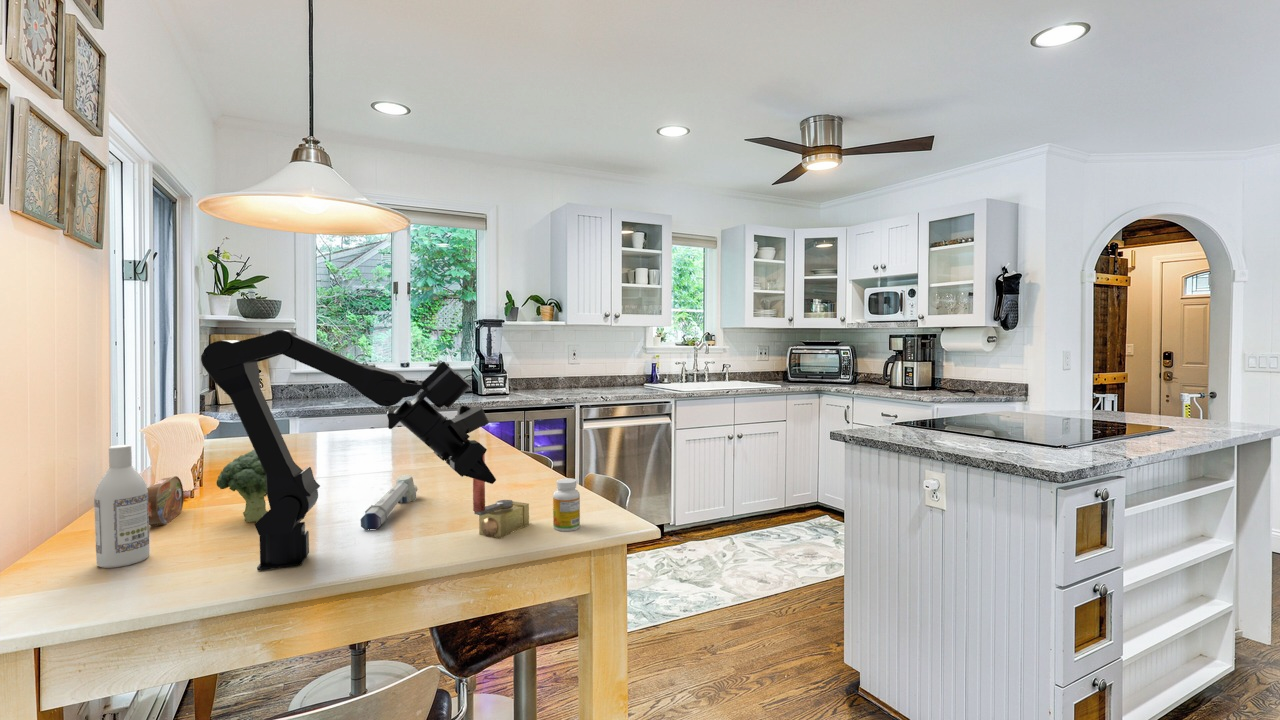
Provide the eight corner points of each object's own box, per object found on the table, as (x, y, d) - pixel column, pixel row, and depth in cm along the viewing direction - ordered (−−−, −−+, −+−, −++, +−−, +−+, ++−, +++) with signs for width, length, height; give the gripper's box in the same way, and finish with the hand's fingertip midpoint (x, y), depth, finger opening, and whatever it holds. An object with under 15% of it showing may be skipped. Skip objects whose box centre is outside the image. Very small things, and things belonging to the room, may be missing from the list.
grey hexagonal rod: (355, 512, 118) (397, 468, 143) (358, 543, 119) (398, 494, 144) (383, 512, 119) (419, 468, 143) (384, 543, 120) (420, 494, 144)
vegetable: (286, 524, 123) (284, 452, 122) (211, 533, 117) (209, 457, 116) (292, 509, 134) (290, 442, 133) (223, 516, 128) (222, 447, 127)
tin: (160, 529, 119) (158, 488, 119) (140, 531, 118) (139, 489, 118) (185, 509, 133) (184, 472, 133) (168, 511, 132) (167, 473, 132)
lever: (505, 503, 122) (504, 446, 121) (516, 506, 120) (515, 447, 119) (469, 514, 114) (468, 453, 114) (480, 517, 112) (479, 455, 112)
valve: (499, 538, 114) (499, 516, 114) (477, 535, 116) (477, 512, 116) (530, 524, 123) (530, 503, 123) (509, 520, 125) (509, 500, 125)
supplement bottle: (554, 523, 123) (554, 477, 123) (580, 523, 124) (580, 477, 123) (552, 532, 118) (552, 483, 118) (579, 531, 118) (579, 483, 118)
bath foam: (159, 553, 106) (156, 442, 105) (130, 568, 99) (126, 449, 98) (117, 554, 105) (114, 442, 105) (85, 569, 99) (81, 450, 98)
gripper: (474, 397, 103) (535, 454, 109) (449, 389, 119) (504, 439, 125) (427, 446, 99) (492, 503, 105) (408, 431, 115) (466, 481, 121)
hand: (490, 478), depth 114 cm, fingers open, 5 cm apart
